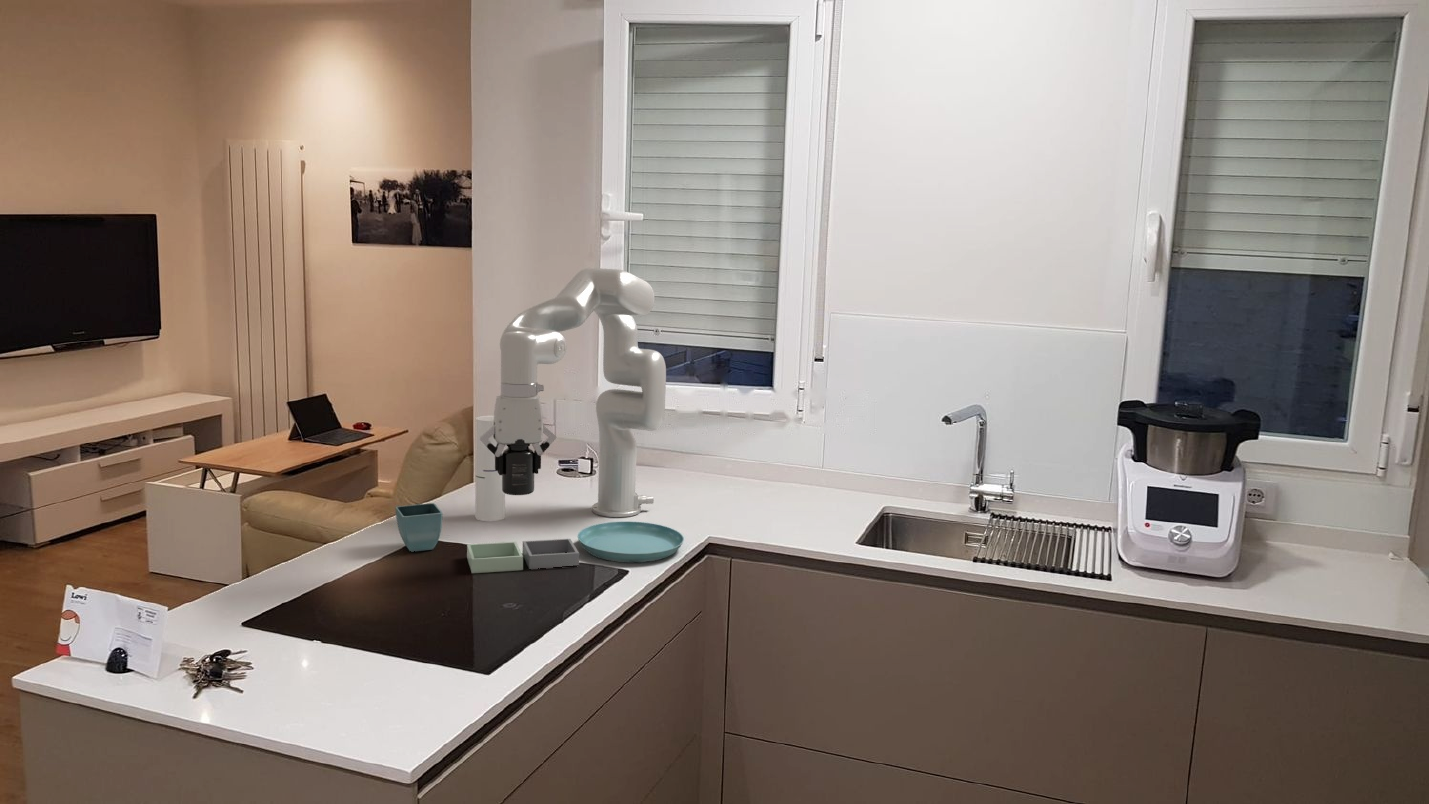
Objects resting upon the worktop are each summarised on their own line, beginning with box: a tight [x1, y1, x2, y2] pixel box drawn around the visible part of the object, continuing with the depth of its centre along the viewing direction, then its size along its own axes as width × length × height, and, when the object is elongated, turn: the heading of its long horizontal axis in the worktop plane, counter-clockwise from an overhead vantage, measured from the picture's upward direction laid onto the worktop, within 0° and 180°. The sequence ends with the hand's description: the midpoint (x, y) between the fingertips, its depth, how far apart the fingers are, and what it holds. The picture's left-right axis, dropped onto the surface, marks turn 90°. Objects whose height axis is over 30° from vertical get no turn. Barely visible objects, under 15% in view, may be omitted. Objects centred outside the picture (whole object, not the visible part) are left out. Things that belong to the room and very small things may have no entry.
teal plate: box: [577, 521, 685, 563], centre depth 240 cm, size 24×24×3 cm
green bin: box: [466, 541, 524, 574], centre depth 226 cm, size 11×11×3 cm
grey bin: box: [522, 538, 580, 570], centre depth 230 cm, size 11×11×3 cm
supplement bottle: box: [502, 439, 535, 496], centre depth 224 cm, size 7×7×12 cm
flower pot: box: [394, 502, 444, 553], centre depth 234 cm, size 9×9×9 cm
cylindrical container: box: [474, 415, 506, 522], centre depth 259 cm, size 7×7×25 cm
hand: (517, 472), depth 225 cm, fingers closed on supplement bottle, 6 cm apart
